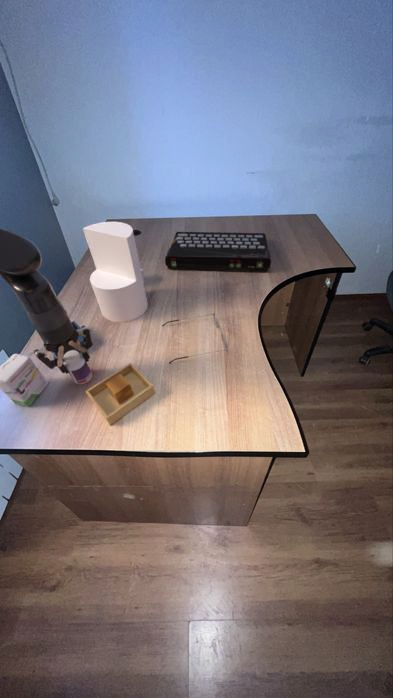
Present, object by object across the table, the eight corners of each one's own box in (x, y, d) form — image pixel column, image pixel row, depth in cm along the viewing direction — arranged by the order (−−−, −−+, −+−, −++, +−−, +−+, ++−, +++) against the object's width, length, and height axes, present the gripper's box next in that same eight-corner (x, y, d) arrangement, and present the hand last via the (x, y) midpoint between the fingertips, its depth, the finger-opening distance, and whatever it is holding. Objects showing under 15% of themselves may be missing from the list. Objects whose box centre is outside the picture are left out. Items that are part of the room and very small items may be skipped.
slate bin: (60, 362, 82) (55, 355, 79) (46, 344, 88) (41, 336, 85) (92, 344, 87) (89, 337, 84) (77, 328, 93) (74, 320, 90)
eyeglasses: (229, 354, 82) (229, 345, 79) (169, 365, 81) (167, 356, 78) (214, 317, 95) (214, 308, 92) (162, 326, 93) (160, 318, 90)
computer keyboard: (264, 243, 132) (266, 230, 128) (269, 273, 113) (271, 258, 109) (176, 241, 137) (174, 228, 132) (166, 270, 118) (164, 255, 113)
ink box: (29, 408, 71) (4, 382, 63) (14, 403, 72) (-12, 377, 64) (49, 383, 77) (29, 356, 68) (35, 379, 78) (14, 352, 69)
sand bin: (110, 425, 67) (106, 418, 64) (89, 398, 73) (85, 391, 70) (155, 392, 73) (153, 385, 71) (132, 370, 79) (130, 362, 77)
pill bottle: (96, 372, 79) (85, 350, 72) (86, 386, 75) (73, 364, 68) (80, 368, 80) (68, 346, 73) (70, 382, 76) (56, 361, 69)
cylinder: (121, 289, 108) (101, 218, 88) (156, 300, 102) (144, 227, 82) (91, 314, 98) (61, 239, 77) (129, 327, 92) (106, 251, 72)
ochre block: (119, 404, 70) (114, 394, 67) (110, 394, 73) (105, 383, 69) (133, 394, 73) (129, 383, 69) (124, 384, 75) (120, 373, 71)
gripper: (72, 299, 67) (93, 345, 79) (12, 326, 60) (45, 372, 72) (86, 312, 63) (106, 359, 75) (24, 343, 56) (57, 388, 69)
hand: (76, 365), depth 74 cm, fingers closed on pill bottle, 5 cm apart
